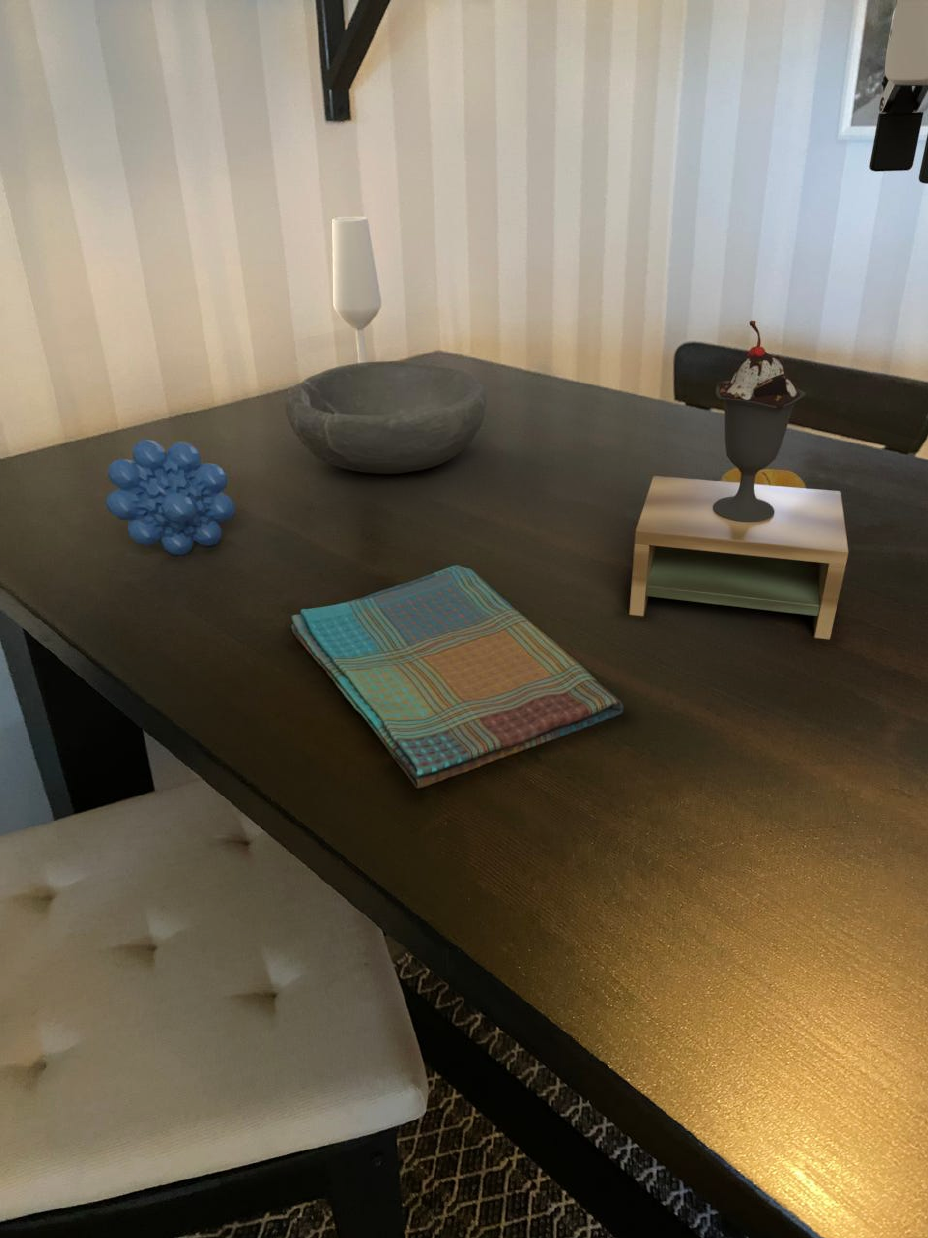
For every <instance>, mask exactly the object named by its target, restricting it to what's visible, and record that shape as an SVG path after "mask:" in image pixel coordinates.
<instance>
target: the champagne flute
mask: <svg viewBox="0 0 928 1238" xmlns="http://www.w3.org/2000/svg"><path fill="white" fill-rule="evenodd" d="M331 220H332V221H331V235H332V237H331V238H332V243H331V244H332V247H331V248H332V306H333V310H334V311H335V312H336V314H337V315H338V317H339V318H340V319H341V320H343V321H344V323H346V324H347V325H348V326H349V327H351V328H353V329H354V331H355V340H356V342H355V343H356V353H357V361H358V362H357V363H364V362H367V353H366V341H365V328H367V327H368V326H369V325H370V324H371V322H372V321H373V320H374V319H375V318H376V317H377V315H378V313H379V311H380V310H381V308H382V299H381V292H380V285H379V279H378V274H377V268H376V267H377V266H376V261H375V255H374V249H373V248H374V247H373V244H372V237H371V236H372V235H371V230H370V225H369V219H368V217H367V216H358V215H357V216H356V215H355V216H340V217H336V218H332V219H331Z"/></svg>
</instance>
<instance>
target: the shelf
mask: <svg viewBox="0 0 928 1238" xmlns="http://www.w3.org/2000/svg"><path fill="white" fill-rule="evenodd" d="M739 485H740V483H734V482H722V481H721V480H708V479H696V478H685V477H675V476H674V477H673V476H663V475H662V476H661V475H653V476H652V479H651V483H650V485H649V489H648V492H647V495H646V498H645V501H644V504H643V507H642V510H641V512H640V515H639V519H638V522H637V526H636V528H635V532H634V533H635V535H634V547H633V558H632V559H633V560H632V573H631V585H630V586H631V587H630V598H629V600H630V601H629V610H628V611H629V614H628V615H630V616H638V617H644V616H645V612H646V608H647V604H648V600H649V598H650V597H652V598H660V599H667V600H676V601H686V602H694V603H702V604H703V603H704V604H710V605H717V606H719V605H720V606H727V607H728V606H729V607H737V608H744V609H745V608H746V609H753V610H760V611H761V610H762V611H770V612H777V613H778V612H779V613H785V614H794V615H795V614H797V615H804V616H812V622H813V623H812V624H813V638H814V639H823V640H831V636H832V633H833V628H834V623H835V617H836V613H837V608H838V604H839V599H840V595H841V589H842V585H843V580H844V576H845V571H846V565H847V561H848V557H849V546H848V538H847V530H846V523H845V514H844V508H843V499H842V498H843V497H842V493H841V491H840V490H828V489H819V488H807V487H806V488H794V487H782V486H770V485H758V484H754V493H755V496H756V498H757V499H760V500H763V501H765V502H767V503H769V504H770V505H771V506H772V507H773V508H774V515H773V516H772V517H770V518H769V519H767V520H764V521H759V522H739V521H734V520H729V519H726V518H724V517H722V516H720V515H718V514H717V513H716V512H715V511H714V510H713V505H714V503H715V502H717V501H718V500H720V499H722V498H725V497H733V496H735V495H736V494H737V492H738V489H739Z"/></svg>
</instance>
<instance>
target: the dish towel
mask: <svg viewBox="0 0 928 1238" xmlns="http://www.w3.org/2000/svg"><path fill="white" fill-rule="evenodd" d="M291 621H292V623H291V625H290V629H291V631H292V634H293V635H294V636H295V638H296V639H297V640H298V641H299V643H300V644H301V645H302V646H303V647H304V648H305V650H306V651H307V652H308V653H309V654H310V656H312V657H313V659H314V660H315V662H317V664H318V665H319V666H320V667H322V669H323V670H324V671H325V672H326V674H327V675H328V676H329V678H330V679H331V680H332V681H333V683H334V684H335V686H336V687H337V688H338V689H339V690H340V691H341V693H342V694H343V695H344V697H345V698H346V699H347V701H349V703H350V705H352V706H353V709H354V710H355V711H357V712H358V713H359V714H360V715H361V716H362V718H363V719H364V720H365V721H366V722H367V724H368V725H369V726H370V728H371V729H372V731H373V732H374V733H375V735H376V736H377V738H378V739H379V740H380V742H381V743H382V744H383V745H384V747H385V748H386V750H387V751H388V752H389V754H390V755H391V756H392V758H393V759H394V760H395V762H396V763H397V764H398V766H399V767H400V768H401V770H402V771H403V772H404V773H405V775H406V777H408V779H409V780H410V782H411V783H412V784H413V786H414V788H415V789H417V790H419V789H422V788H423V789H424V788H427V787H429V786H431V785H433V784H436V783H439V782H443V781H444V780H447V779H450V778H451V777H456V776H458V775H461V774H464V773H467V772H469V771H472V770H475V769H478V768H480V767H482V766H485V765H487V764H489V763H492V762H495V761H497V760H500V759H504V758H506V757H509V756H511V755H514V754H517V753H520V752H522V751H525V750H527V749H528V750H529V749H531V748H535V747H537V746H540V745H543V744H545V743H548V742H550V741H554V740H556V739H559V738H561V737H565V736H568V735H570V734H572V733H575V732H579V731H582V730H583V729H586V728H589V727H593V726H594V725H596V724H599V723H600V724H601V723H603V722H604V721H605V722H606V721H607V720H610V719H613V718H616V717H617V716H620V715H622V714H623V713H624V705H623V703H622V701H621V700H620V699H619V698H618V697H616V696H615V695H614V694H613V693H612V692H611V691H609V690H608V688H606V687H605V686H603V685H602V684H601V682H599V681H598V680H597V679H596V678H595V677H594V676H593V675H592V674H591V673H590V672H589V671H588V670H586V668H584V666H583V665H581V664H580V663H579V662H578V661H577V660H576V659H574V658H573V657H572V656H570V655H569V654H568V653H567V652H566V651H565V650H564V649H562V648H561V646H559V644H557V643H556V642H555V641H554V640H553V639H551V638H550V637H549V636H547V634H546V633H545V632H543V631H542V630H540V628H539V627H538V626H536V625H534V623H533V622H531V621H530V620H528V619H527V618H526V617H525V616H524V615H523V614H521V612H519V611H518V610H517V609H516V608H514V607H513V606H512V605H511V604H510V603H509V602H508V601H507V600H506V599H504V598H503V597H502V595H500V594H499V593H498V592H497V591H496V590H494V589H493V588H492V586H491V585H489V583H487V581H485V580H484V579H483V578H482V577H481V576H480V575H478V574H477V573H476V572H475V571H474V570H473V569H472V568H469V567H464V566H461V565H458V564H457V565H451V566H448V567H445V568H443V569H441V570H438V571H435V572H433V573H430V574H428V575H424V576H422V577H419V578H417V579H414V580H411V581H408V582H405V583H401V584H398V585H395V586H392V587H389V588H385V589H381V590H379V591H376V592H374V593H371V594H368V595H366V596H362V597H360V598H356V599H353V600H348V601H345V602H344V601H343V602H341V603H336V604H333V605H326V606H319V607H313V608H302V609H301V610H300V614H299V613H298V614H293V615H291Z"/></svg>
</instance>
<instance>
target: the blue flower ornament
mask: <svg viewBox="0 0 928 1238" xmlns="http://www.w3.org/2000/svg"><path fill="white" fill-rule="evenodd" d="M132 448H133V449H132V459H133V460H134V461H133V460H131V459H127V458H117V459H116V460H114V461H113V462H111V463H110V464H109V465H108V471H107V472H108V473H107V474H108V475H107V476H108V478H109V480H110V482H111V484H113V485H114V486H116V487H117V488H119V489H116V488H115V489H114V490H113V491H111V492H110V493H108V495H107V496H106V507H107V509H108V511H109V513H110V514H111V515H113V516H114V517H115V518H117V519H119V520H120V521H121V520H122V521H128V525H127V534H128V536H129V537H130V539H131V540H132V541H134V542H135V543H137V544H138V545H140V546H146V547H150V546H154V545H156V544H158V542H160V544H161V546H162V548H163V549H164V550H165V551H166V552H168V553H170V554H171V555H173V556H184V555H188V554H189V553H190V552H191V551H192V550H193V547H194V542H196V543H198V544H199V545H201V546H204V547H211V546H212V547H213V546H215V545H217V544H218V543H219V542H220V541H221V540H222V533H223V529H222V527H221V526H220V524H219V523H224V522H228V521H230V520H232V519H233V518H234V516H235V513H236V504H235V503H234V501H233V499H232V498H231V497H230V496H228V495H227V494H226V493H224V492H223V491H224V490H225V489H226V488H227V486H228V478H229V477H228V475H227V473H226V472H225V470H224V469H223V468H222V467H221V466H220V465H218V464H216V463H209V462H204V463H202V455H201V453H200V452H199V450H198V449H197V448H196V447H195V446H194V445H192V444H191V443H190V442H183V441H176V442H175V443H173V444H171V445H170V446H169V447H168V448H167V451H166V449H165V448H164V446H163V445H161V444H160V443H158V442H157V441H155V440H149V439H142V440H140V441H138V442H137V443H136V444H135V445H134V446H133V447H132Z"/></svg>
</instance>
